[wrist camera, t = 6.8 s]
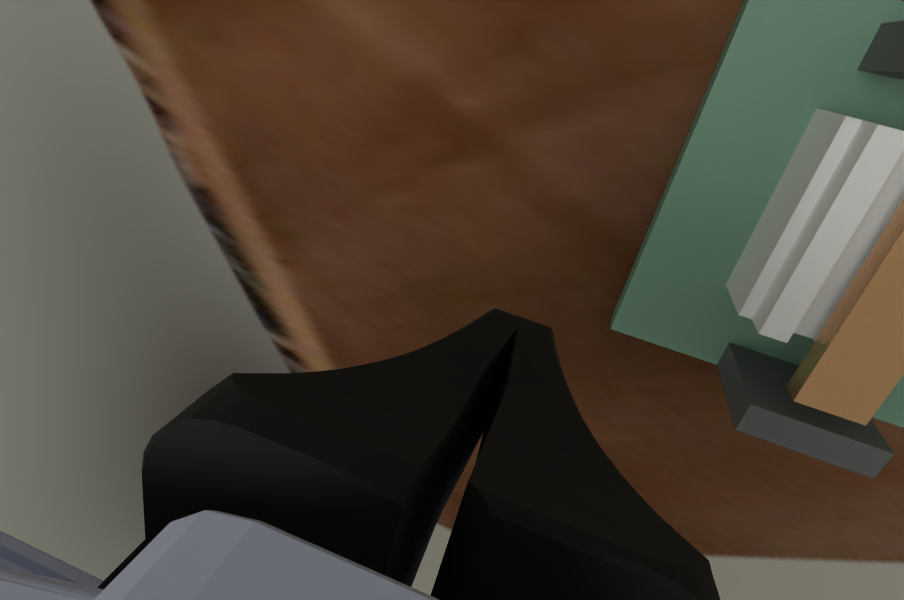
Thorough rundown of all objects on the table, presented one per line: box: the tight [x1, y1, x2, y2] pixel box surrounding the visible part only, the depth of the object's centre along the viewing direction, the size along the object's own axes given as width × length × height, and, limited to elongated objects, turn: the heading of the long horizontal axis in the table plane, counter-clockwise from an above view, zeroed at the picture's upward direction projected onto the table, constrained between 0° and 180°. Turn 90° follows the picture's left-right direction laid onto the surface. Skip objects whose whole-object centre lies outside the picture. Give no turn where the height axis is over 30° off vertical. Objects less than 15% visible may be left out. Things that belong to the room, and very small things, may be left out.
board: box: [611, 0, 904, 479], centre depth 15 cm, size 12×12×6 cm
